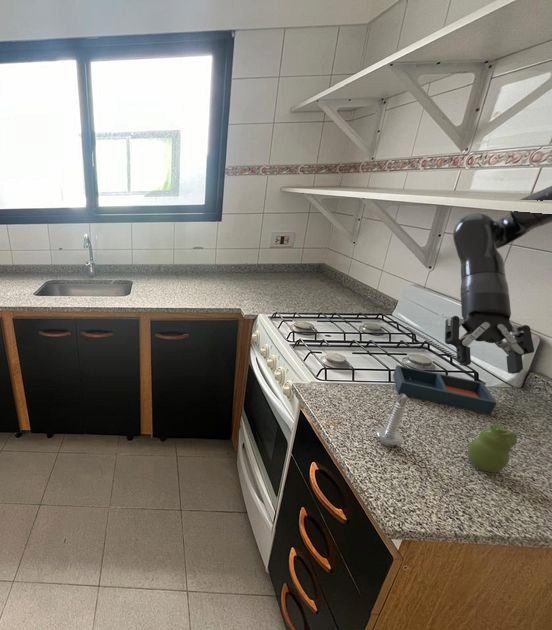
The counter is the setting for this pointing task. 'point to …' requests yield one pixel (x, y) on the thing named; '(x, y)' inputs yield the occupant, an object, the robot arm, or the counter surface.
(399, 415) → the screw
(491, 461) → the pear
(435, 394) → the tray
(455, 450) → the counter surface
